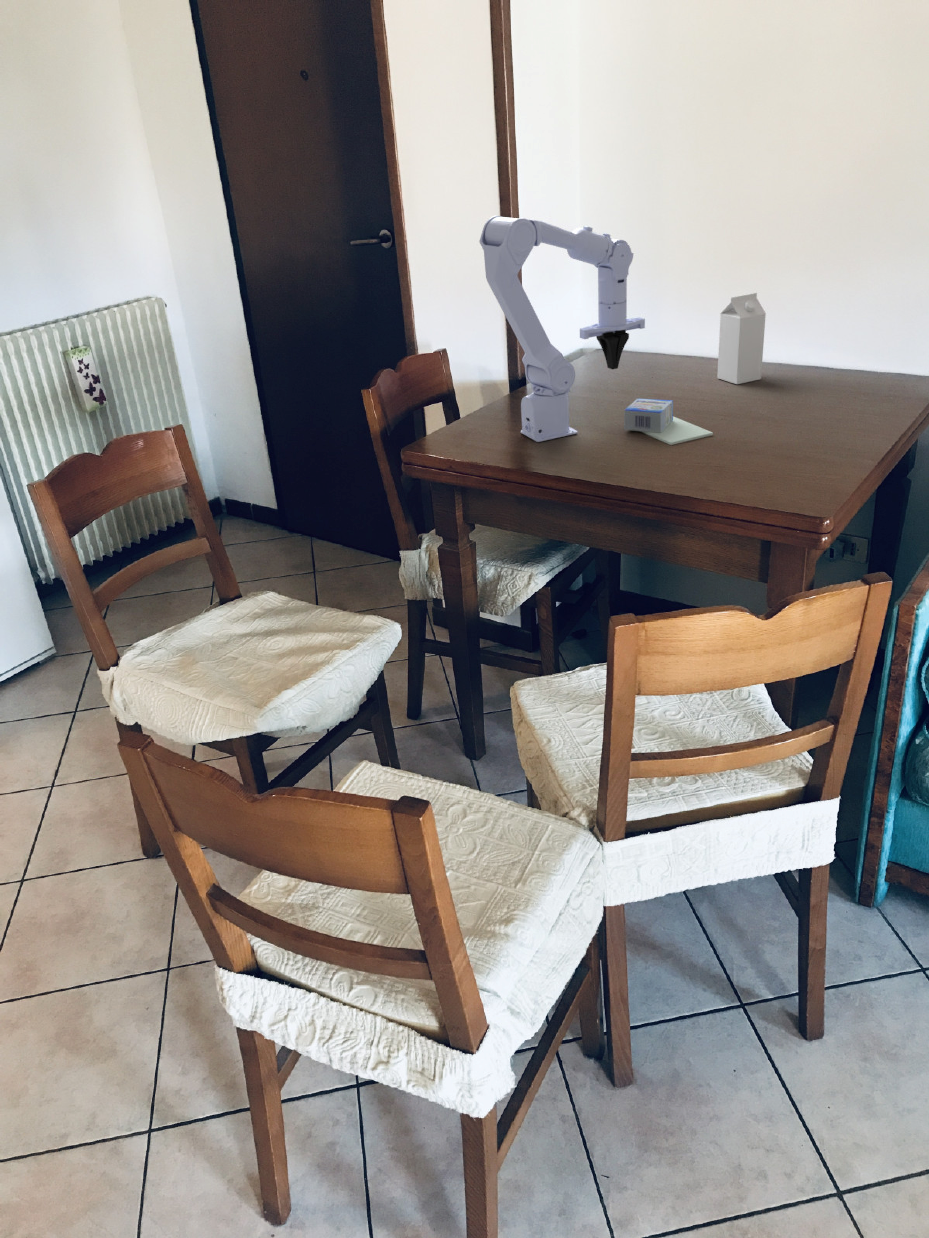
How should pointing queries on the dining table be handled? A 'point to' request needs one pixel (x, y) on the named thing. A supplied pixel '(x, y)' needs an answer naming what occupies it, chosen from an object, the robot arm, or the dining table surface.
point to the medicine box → (648, 415)
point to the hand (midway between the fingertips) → (612, 368)
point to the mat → (679, 432)
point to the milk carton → (741, 340)
